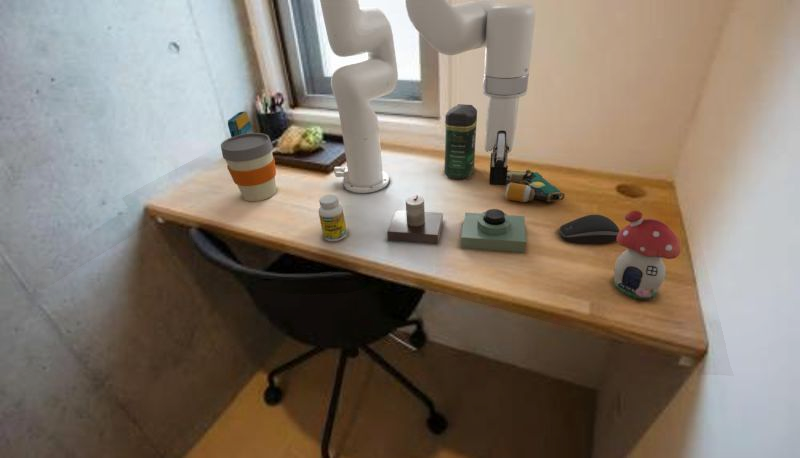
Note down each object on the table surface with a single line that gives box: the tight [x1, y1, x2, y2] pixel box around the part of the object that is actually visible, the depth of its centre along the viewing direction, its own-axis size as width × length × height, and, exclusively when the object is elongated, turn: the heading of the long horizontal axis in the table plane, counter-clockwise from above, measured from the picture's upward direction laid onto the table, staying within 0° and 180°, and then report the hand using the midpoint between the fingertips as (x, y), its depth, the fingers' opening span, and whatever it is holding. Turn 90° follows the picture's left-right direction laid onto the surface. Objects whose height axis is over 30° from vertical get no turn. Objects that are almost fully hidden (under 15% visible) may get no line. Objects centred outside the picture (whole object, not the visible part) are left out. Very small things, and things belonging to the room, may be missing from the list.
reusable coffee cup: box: [220, 132, 277, 202], centre depth 109 cm, size 13×13×15 cm
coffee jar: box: [444, 103, 478, 180], centre depth 112 cm, size 10×8×19 cm
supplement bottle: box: [318, 193, 348, 242], centre depth 91 cm, size 5×5×10 cm
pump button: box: [484, 208, 505, 225], centre depth 87 cm, size 4×4×2 cm
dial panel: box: [386, 209, 444, 245], centre depth 93 cm, size 11×9×2 cm
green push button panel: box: [460, 211, 527, 253], centre depth 89 cm, size 13×10×4 cm
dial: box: [405, 194, 426, 226], centre depth 90 cm, size 4×4×6 cm
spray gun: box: [504, 168, 565, 203], centre depth 105 cm, size 4×17×15 cm
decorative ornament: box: [613, 210, 681, 301], centre depth 70 cm, size 9×6×15 cm
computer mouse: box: [558, 214, 621, 245], centre depth 87 cm, size 7×12×4 cm, turn 88°
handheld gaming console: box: [227, 111, 255, 138], centre depth 127 cm, size 10×4×15 cm, turn 174°
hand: (497, 176), depth 82 cm, fingers open, 5 cm apart
